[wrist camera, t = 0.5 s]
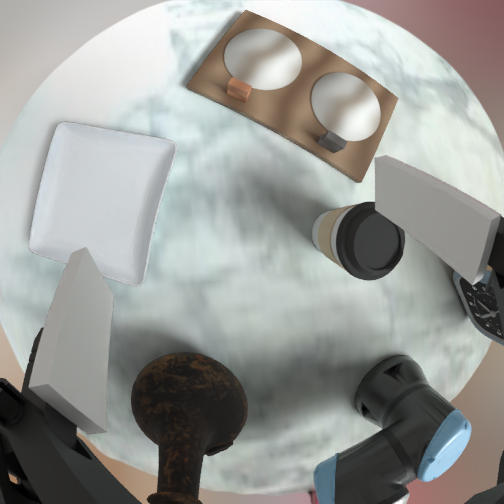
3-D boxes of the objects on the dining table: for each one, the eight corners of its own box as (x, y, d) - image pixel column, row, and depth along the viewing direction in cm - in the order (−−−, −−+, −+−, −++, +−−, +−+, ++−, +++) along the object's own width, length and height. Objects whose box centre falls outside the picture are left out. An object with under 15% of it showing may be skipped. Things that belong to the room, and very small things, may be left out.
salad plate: (182, 146, 40) (179, 140, 37) (147, 283, 43) (142, 289, 39) (66, 125, 38) (56, 119, 34) (38, 249, 40) (27, 251, 36)
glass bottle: (187, 434, 47) (178, 557, 19) (120, 371, 44) (58, 492, 16) (264, 391, 47) (301, 525, 19) (198, 317, 44) (176, 452, 16)
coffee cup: (292, 237, 44) (328, 251, 29) (328, 191, 43) (377, 183, 29) (335, 272, 45) (382, 300, 30) (368, 228, 45) (425, 237, 30)
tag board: (394, 100, 42) (410, 91, 37) (357, 182, 44) (373, 180, 38) (244, 14, 37) (247, -4, 32) (187, 89, 39) (184, 74, 33)
